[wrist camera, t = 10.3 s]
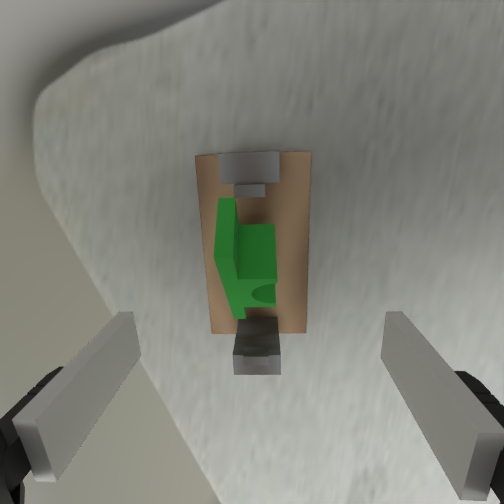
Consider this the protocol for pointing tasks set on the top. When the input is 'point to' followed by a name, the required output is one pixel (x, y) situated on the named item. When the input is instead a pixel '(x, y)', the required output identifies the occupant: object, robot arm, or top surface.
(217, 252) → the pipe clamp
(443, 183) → the top surface
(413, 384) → the robot arm
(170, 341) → the top surface
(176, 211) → the top surface
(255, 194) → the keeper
